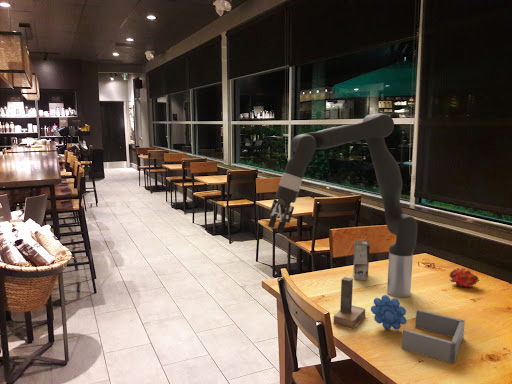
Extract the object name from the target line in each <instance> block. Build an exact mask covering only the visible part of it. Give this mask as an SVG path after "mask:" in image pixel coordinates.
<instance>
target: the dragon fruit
mask: <svg viewBox="0 0 512 384" xmlns="http://www.w3.org/2000/svg"><path fill="white" fill-rule="evenodd" d="M449 278H451V279H450V280H449V281H450V282H451V283H455V285H456V286H459V287H460V288H462V287H466V288H468V289H472V288H473V287H474V285H476V284H477V283H479V282H480V279H479V277H478V276H477V275H476V274H473V273H472V271H470V269H467V270H466V269H465V268H458V267H457V268H456V269H455V268H454V269H453V270H452V271H450V273H449Z"/></svg>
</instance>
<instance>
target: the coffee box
mask: <svg viewBox="0 0 512 384" xmlns="http://www.w3.org/2000/svg"><path fill="white" fill-rule="evenodd" d="M353 246H354V247H353V248H354V249H353V250H354V251H353V252H354V253H353V271H352V272H353V280H358V281H359V280H360V281H368V279H369V264H370V250H371V249H370V243H369V240H356V239H355V240H354V245H353Z"/></svg>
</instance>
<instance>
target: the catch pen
mask: <svg viewBox="0 0 512 384" xmlns="http://www.w3.org/2000/svg"><path fill="white" fill-rule="evenodd" d="M465 323H466V321H465V320H464V319H460V318H455V317H453V316H452V317H451V316H447V315H443V314H439V313H435V312H430V311H427V310H423V309H417V308H416V311H415V323H414V324H415V326H414V327H415V328H418V329H421V330H426V331H429V332H433V333H436V334H441V335H445V336H449V337H451V336H452V337H451V338H452V340H451V341H450V340H446V339H443V338H439V337H435V336H433V335H428V334H425V333H420V332H418V331H417V332H416V331H413V330H409V329H406V328H403V329H402V337H401V339H402V340H401V350H404V351H408V352H411V353H415V354H417V355H418V354H419V355H422V356H425V357H429V358H431V359H436V360H438V359H439V360H438V361H442V360H443V361H442V362H445V361H446V363H448V362H450V363H449V364H452V363H453V364H452V365H455V362H456V359H457V357H456V356H458V354H459V351H460V348H461V345H462V343H461V342H463V339H464V332H465ZM457 353H458V354H457Z"/></svg>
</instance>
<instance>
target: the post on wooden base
mask: <svg viewBox="0 0 512 384" xmlns="http://www.w3.org/2000/svg"><path fill="white" fill-rule="evenodd" d="M340 283H341V287H340V288H341V289H340V291H341V292H340V310H338V311H337V312H336V313H335V314H334V315H333V325H337V326H340V327H344V328H347V329H350V330H354V329H355V328H356V326H357V325H358V324H359V323H360V322H361V321H363V319H364V318H365V317H366V308H363V307H359V306H356V305H352V303H353V287H354V286H353V283H354V278H352V277H347V276H344V277H343V278H342V279H341V281H340Z"/></svg>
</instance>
